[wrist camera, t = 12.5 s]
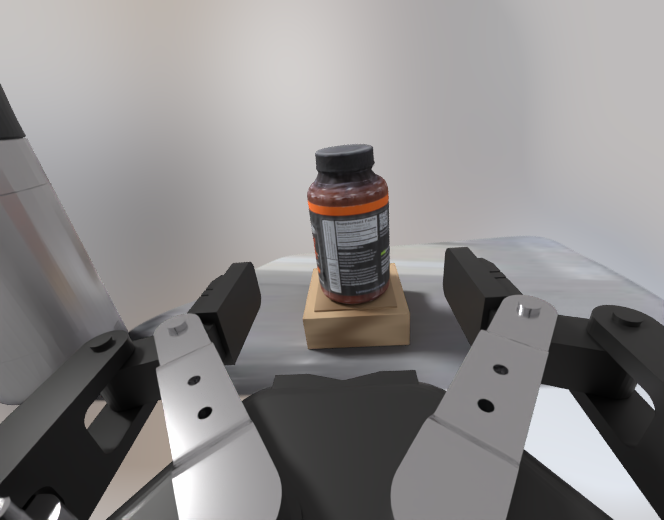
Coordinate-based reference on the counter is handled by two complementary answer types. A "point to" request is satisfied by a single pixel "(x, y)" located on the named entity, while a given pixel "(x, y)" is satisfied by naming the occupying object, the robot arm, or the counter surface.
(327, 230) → the supplement bottle
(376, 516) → the robot arm
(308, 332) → the oak base
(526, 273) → the counter surface
